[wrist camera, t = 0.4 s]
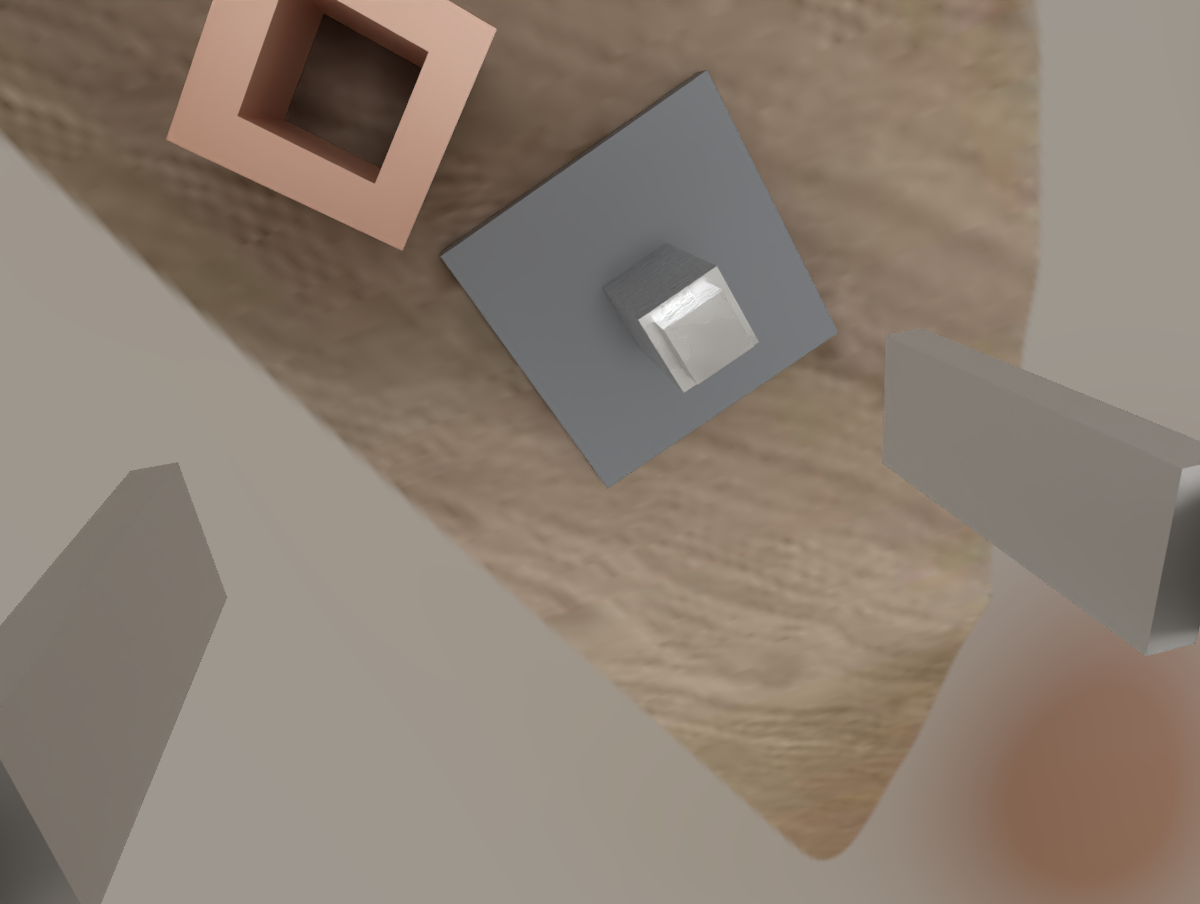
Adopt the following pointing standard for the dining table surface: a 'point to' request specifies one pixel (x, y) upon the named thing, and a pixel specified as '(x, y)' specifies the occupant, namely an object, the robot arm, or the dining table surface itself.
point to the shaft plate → (618, 241)
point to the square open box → (300, 159)
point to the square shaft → (681, 314)
